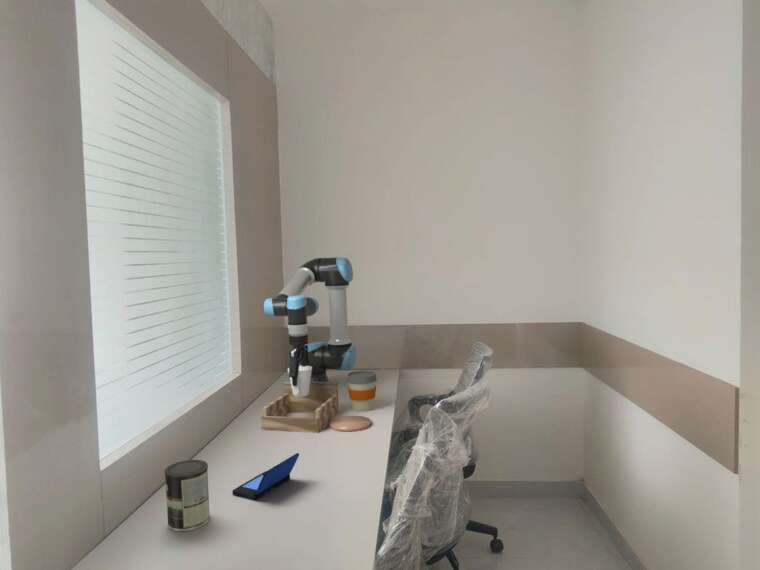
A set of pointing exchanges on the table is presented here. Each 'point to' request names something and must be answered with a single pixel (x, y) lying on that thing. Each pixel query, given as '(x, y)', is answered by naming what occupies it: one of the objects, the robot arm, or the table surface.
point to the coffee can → (187, 495)
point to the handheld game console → (267, 480)
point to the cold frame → (302, 408)
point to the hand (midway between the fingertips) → (300, 389)
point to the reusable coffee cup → (362, 390)
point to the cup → (303, 380)
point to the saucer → (350, 423)
